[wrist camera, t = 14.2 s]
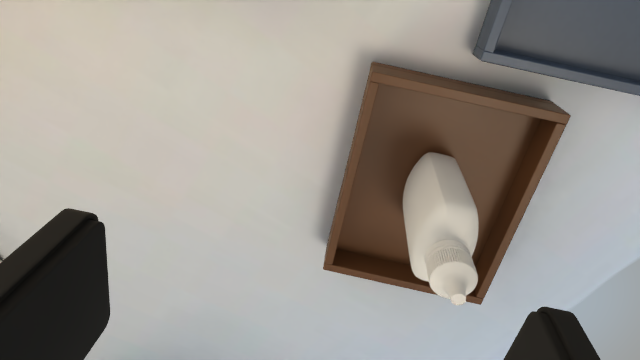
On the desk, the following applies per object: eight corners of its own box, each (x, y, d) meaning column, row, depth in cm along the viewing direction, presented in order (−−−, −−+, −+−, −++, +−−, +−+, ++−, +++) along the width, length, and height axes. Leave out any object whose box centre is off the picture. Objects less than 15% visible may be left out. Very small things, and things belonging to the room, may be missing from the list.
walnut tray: (372, 61, 29) (372, 71, 26) (551, 100, 29) (571, 115, 26) (326, 245, 36) (323, 269, 33) (472, 278, 36) (480, 304, 33)
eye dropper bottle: (479, 180, 31) (537, 293, 20) (421, 228, 33) (445, 353, 22) (437, 140, 30) (474, 236, 19) (379, 192, 32) (383, 305, 22)
